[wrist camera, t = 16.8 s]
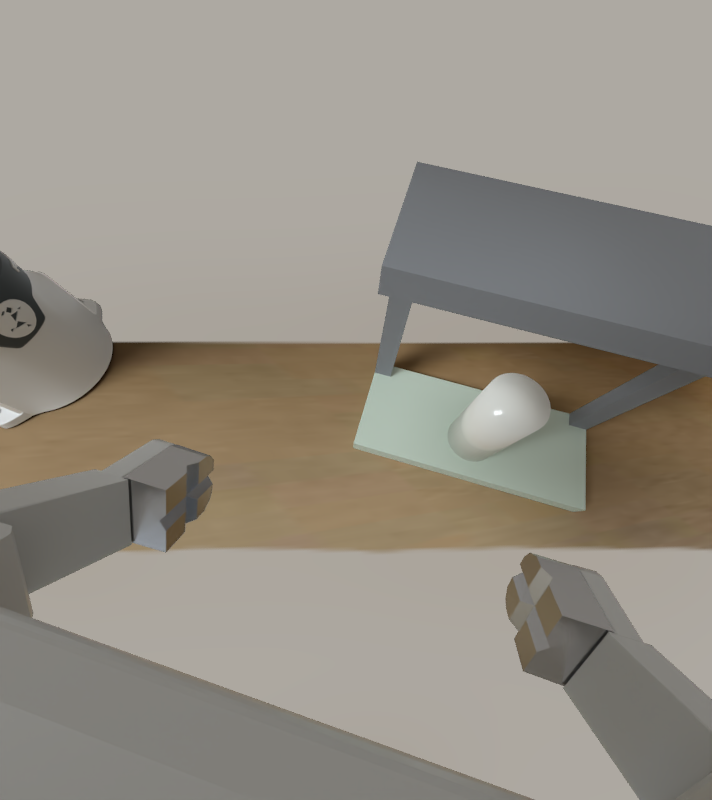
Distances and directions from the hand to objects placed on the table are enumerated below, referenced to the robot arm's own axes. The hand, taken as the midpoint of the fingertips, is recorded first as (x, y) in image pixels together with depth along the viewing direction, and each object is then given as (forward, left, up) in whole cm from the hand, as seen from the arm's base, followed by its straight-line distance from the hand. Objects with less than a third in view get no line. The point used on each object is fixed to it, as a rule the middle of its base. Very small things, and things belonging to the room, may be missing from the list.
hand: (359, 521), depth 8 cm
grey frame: (+11, +15, -29) cm, 35 cm away
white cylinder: (+11, +14, -27) cm, 33 cm away
